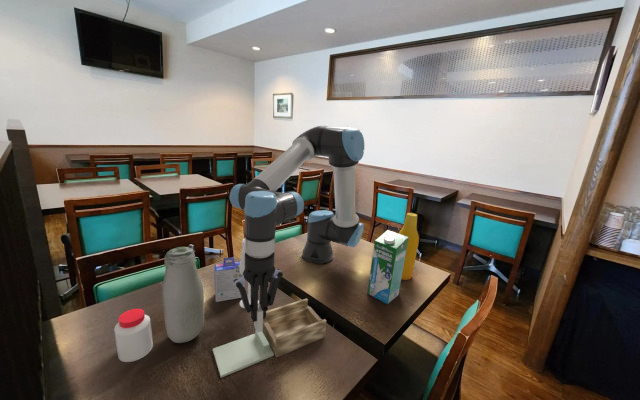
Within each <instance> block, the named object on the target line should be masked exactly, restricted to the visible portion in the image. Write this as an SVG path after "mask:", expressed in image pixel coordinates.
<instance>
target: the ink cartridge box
mask: <svg viewBox="0 0 640 400" xmlns="http://www.w3.org/2000/svg"><path fill="white" fill-rule="evenodd" d="M239 269H240V260H239V261H235V257H233V256H232V257H224V258H223V263H217V264H216V263H215V264H214V291H215V292H214V293H215V295H214V296H215V303H219V302H224V301H229V300H235V299H242V298H241V295H240V291H239V289H238V288H237V286H236V285H235V283H234V280H235V279H239V278H240V277H242V275H241V274H240V271H239Z"/></svg>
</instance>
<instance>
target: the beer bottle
mask: <svg viewBox="0 0 640 400" xmlns="http://www.w3.org/2000/svg"><path fill="white" fill-rule="evenodd" d="M417 224H418V214H417V213H413V212H407V213H406V216H405V220H404V223H403V226H402V227H401V229H400V230H399V232H398V234H401V235H404V236H407V237H409V238H408V244H407V250H406V255H405V261H404V267H403V272H402V278H401V280H404V281H405V280H406V281H407V280H410V279H412V277H413V276H414V275H413V274H414V267H415V263H416V258H417V251H418V247H419V242H420V241H419V240H420V237H419V234H418V230H417Z"/></svg>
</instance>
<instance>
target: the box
mask: <svg viewBox="0 0 640 400" xmlns="http://www.w3.org/2000/svg"><path fill="white" fill-rule="evenodd" d="M308 301H309V299H308V298H307V297H306V298H303V299H300V300H297V301H293V302H290V303H288V304H285V305H282V306H281V305H280V306H278V307H275V308H272V309H268V310H267V311H266V317H265V318H264V319H263V331H262V332H263V334H264V335H265V337H266V339H267V341H268V343H269V346H270V348H271V350H272V351H273V353H274V356H275V358H279V357H281V356H284V355H286V354H289V353H291V352H294V351H296V350H298V349H301V348H302V347H305V346H307V345H309V344H312V343H314V342H317V341H319V340H322V339H324V338H325V337H326V330H327V320H326V319H325V318H324V319H322V318H321V317H320V316H319V315H318V314H317V313H316V311H315V310H314V309H313V308H312V307H311V306H309V305H308V303H309V302H308Z"/></svg>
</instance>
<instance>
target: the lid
mask: <svg viewBox="0 0 640 400" xmlns="http://www.w3.org/2000/svg"><path fill="white" fill-rule="evenodd" d="M254 329H255V328H254ZM212 353H213V356H214V360H215V364H216V366H217V368H218V369H217V370H218V374H219V376H220V378H223V377H226V376H228V375H229V376H230V375H231V374H234V373H236V372H238V371H241V370H243V369H246V368H248V367H251V366H253V365H256V364H257V363H259V362H262V361H264V360H267V359H268V358H272V357H274V356H275V355H274V353H273V351H272V349H271V347H270V346H269V343H268V341H267V339H266V337H265V335H264V334H263V332H262V331H261V332H258V333H257V331H256V329H255V333H253V334H250V335H247V336H245V337H242V338H238V339H236V340H233V341H231V342H228V343H226V344H223V345H220V346H216V347H214V348H212Z"/></svg>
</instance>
